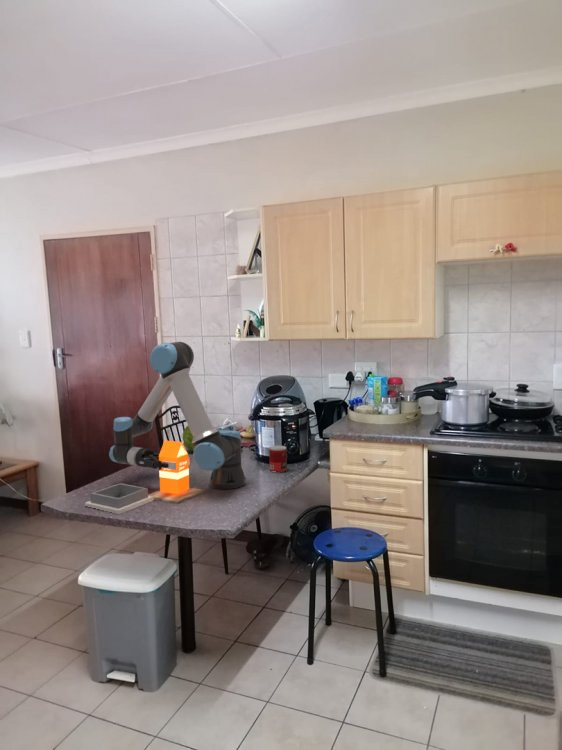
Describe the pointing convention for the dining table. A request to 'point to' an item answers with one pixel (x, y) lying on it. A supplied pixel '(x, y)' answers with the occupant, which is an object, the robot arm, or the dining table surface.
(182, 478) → the orange juice
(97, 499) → the collar holder
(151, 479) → the dining table surface
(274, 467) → the canned food
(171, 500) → the oak board
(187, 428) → the lettuce
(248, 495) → the dining table surface
